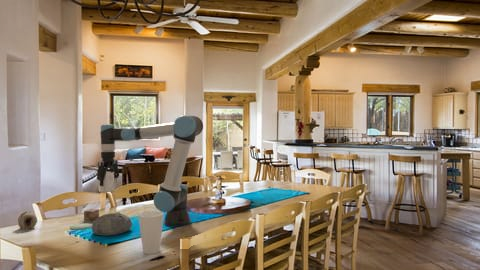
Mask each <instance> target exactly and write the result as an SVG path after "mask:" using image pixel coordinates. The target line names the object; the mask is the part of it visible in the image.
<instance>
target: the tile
mask: <svg viewBox="0 0 480 270" xmlns="http://www.w3.org/2000/svg"><path fill="white" fill-rule="evenodd" d="M78 222H81V223H88V224H93V222H94V221H84V218H83V219H80V220H78Z"/></svg>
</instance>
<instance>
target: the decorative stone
mask: <svg viewBox="0 0 480 270" xmlns="http://www.w3.org/2000/svg"><path fill="white" fill-rule="evenodd" d="M91 224H92V227H91V231H92V232H93V234H95V235H98V236H115V235H120V234H123V233H125V232H128V231H131V228H132V226H133V223H132V220H131V217H129V216H127V215H126V214H123V213H121V212H120V211H119V212H118V211H116V212H112V213H106V214H103V215H101V216H100V215H99V217H98V218H97V219H96V220H95V221H94V222H93V223H91Z"/></svg>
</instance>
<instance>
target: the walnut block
mask: <svg viewBox="0 0 480 270" xmlns="http://www.w3.org/2000/svg"><path fill="white" fill-rule="evenodd" d="M98 217H100V210H99V208H89V209H85V210H83V219H84V221H95V220H96V219H97V218H98Z"/></svg>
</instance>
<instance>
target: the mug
mask: <svg viewBox="0 0 480 270" xmlns="http://www.w3.org/2000/svg"><path fill="white" fill-rule="evenodd" d="M99 178H100V177H99ZM104 180H105V192H104V193H108V192H113V191H114V190H115V189H114V172H112V173H111V171H106V175H105V178H104ZM97 183H98V184H97V185H98V187H97V188H98V192H100V180H97ZM100 193H101V192H100Z"/></svg>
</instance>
